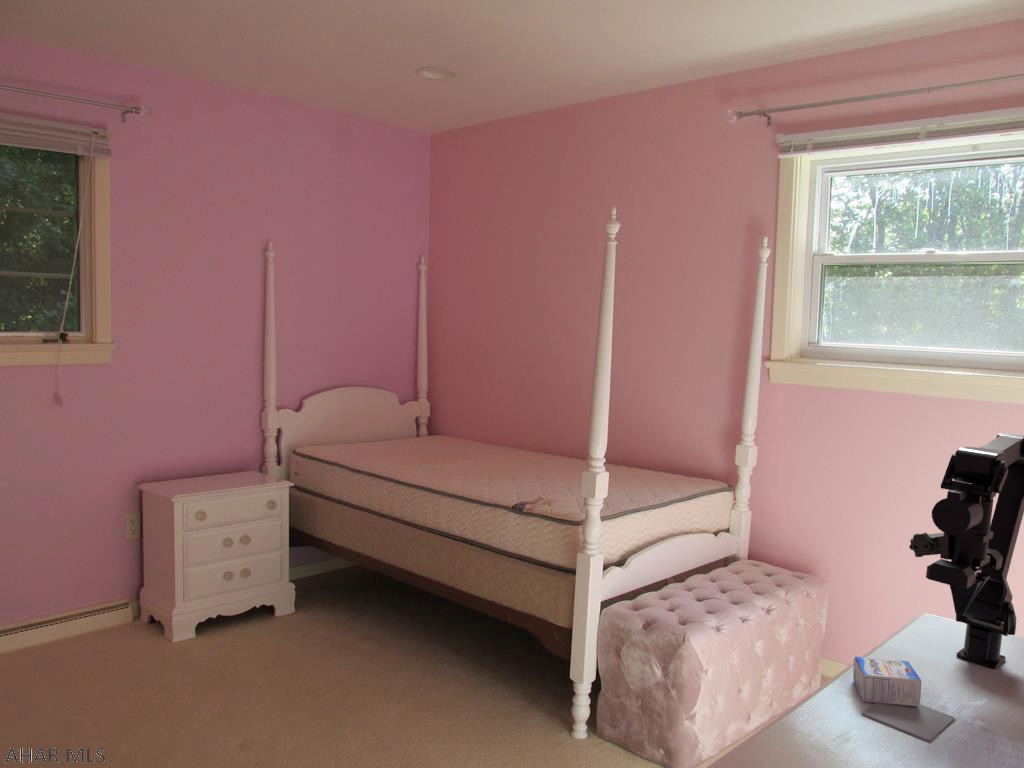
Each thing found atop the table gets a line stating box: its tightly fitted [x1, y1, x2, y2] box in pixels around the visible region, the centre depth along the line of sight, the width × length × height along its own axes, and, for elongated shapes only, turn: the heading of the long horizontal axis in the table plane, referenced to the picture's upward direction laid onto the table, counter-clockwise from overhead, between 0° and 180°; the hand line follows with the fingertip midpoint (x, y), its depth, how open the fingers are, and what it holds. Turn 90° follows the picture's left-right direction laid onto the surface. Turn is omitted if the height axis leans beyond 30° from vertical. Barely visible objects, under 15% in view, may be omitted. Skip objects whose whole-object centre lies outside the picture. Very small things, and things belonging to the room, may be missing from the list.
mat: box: [861, 702, 956, 743], centre depth 128 cm, size 10×10×1 cm
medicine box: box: [852, 656, 922, 706], centre depth 135 cm, size 8×4×9 cm
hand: (959, 614), depth 140 cm, fingers closed
